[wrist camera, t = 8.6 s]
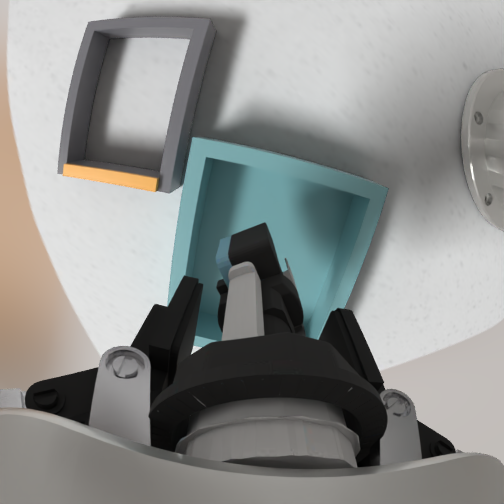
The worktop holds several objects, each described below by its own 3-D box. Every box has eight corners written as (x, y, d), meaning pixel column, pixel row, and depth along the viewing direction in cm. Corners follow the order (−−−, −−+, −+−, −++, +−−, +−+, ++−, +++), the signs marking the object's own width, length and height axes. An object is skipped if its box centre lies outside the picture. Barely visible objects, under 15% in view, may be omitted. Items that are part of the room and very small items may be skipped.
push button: (333, 320, 15) (397, 497, 5) (239, 352, 15) (232, 531, 6) (293, 201, 12) (402, 375, 3) (182, 245, 13) (78, 437, 4)
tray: (368, 179, 16) (388, 188, 13) (310, 339, 20) (315, 367, 17) (205, 137, 15) (192, 137, 12) (176, 311, 19) (164, 337, 17)
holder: (216, 31, 13) (209, 16, 11) (179, 187, 16) (167, 194, 14) (103, 30, 12) (85, 20, 10) (75, 169, 16) (54, 174, 14)
